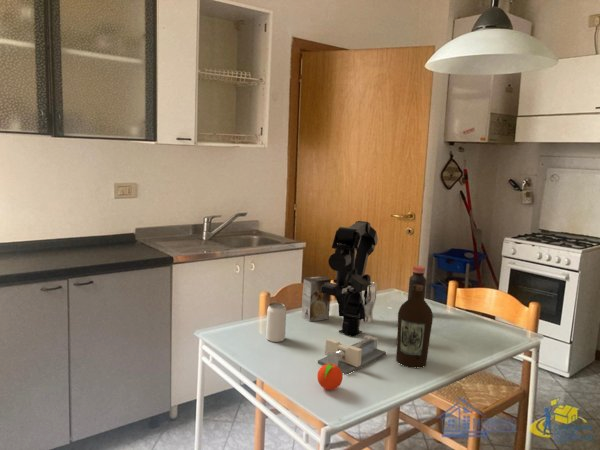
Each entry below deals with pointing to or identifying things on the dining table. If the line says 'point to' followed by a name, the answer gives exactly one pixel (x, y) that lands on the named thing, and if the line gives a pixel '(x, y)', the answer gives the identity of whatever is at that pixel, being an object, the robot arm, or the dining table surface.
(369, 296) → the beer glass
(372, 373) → the dining table surface
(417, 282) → the bottle
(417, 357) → the olive oil
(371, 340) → the steel pipe
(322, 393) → the dining table surface
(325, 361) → the rail board
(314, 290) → the coffee box
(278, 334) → the can
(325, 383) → the clementine
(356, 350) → the cream flat bar
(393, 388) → the dining table surface
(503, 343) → the dining table surface
